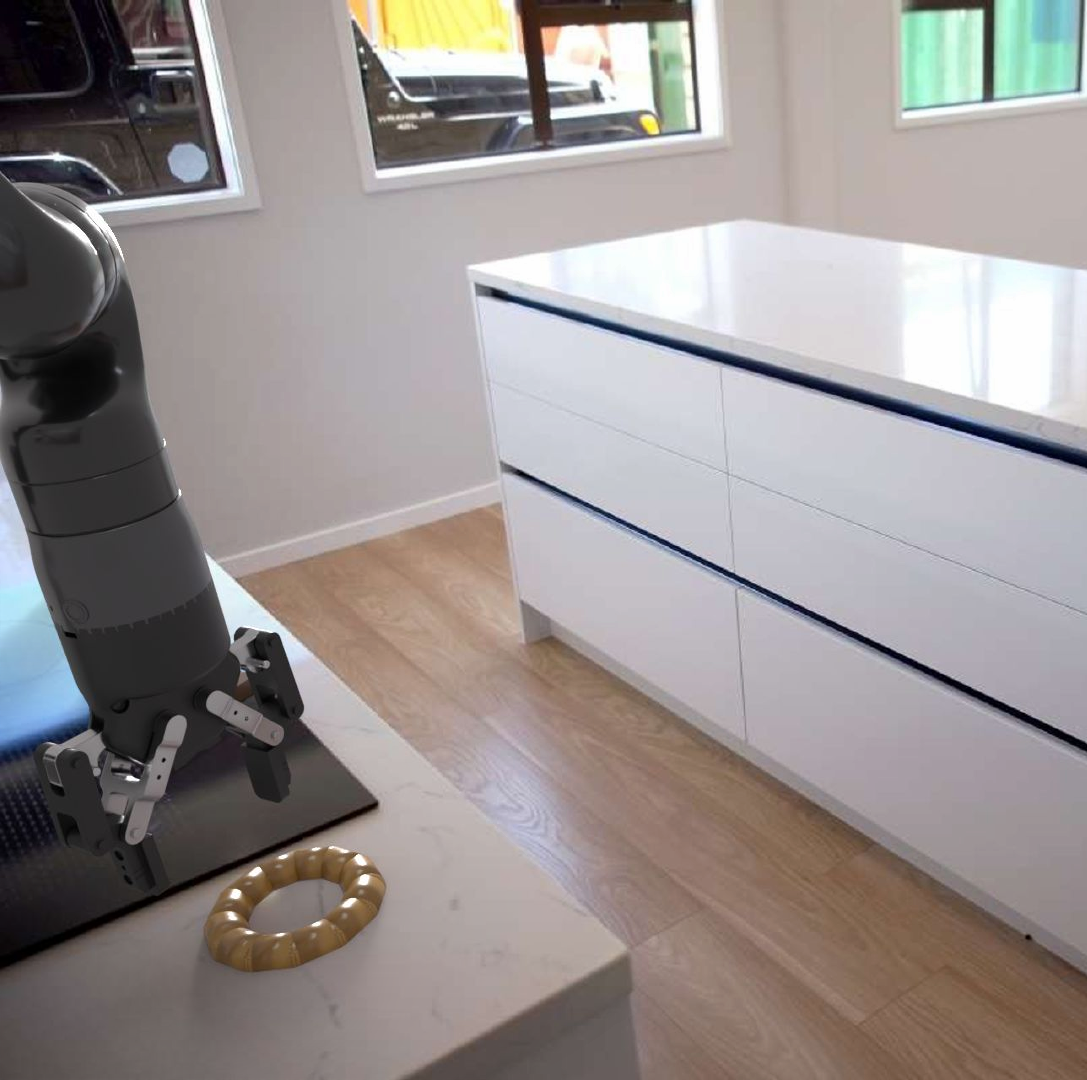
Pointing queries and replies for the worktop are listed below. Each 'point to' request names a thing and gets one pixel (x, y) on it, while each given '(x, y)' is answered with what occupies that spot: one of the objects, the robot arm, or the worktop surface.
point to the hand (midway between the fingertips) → (215, 841)
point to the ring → (293, 949)
